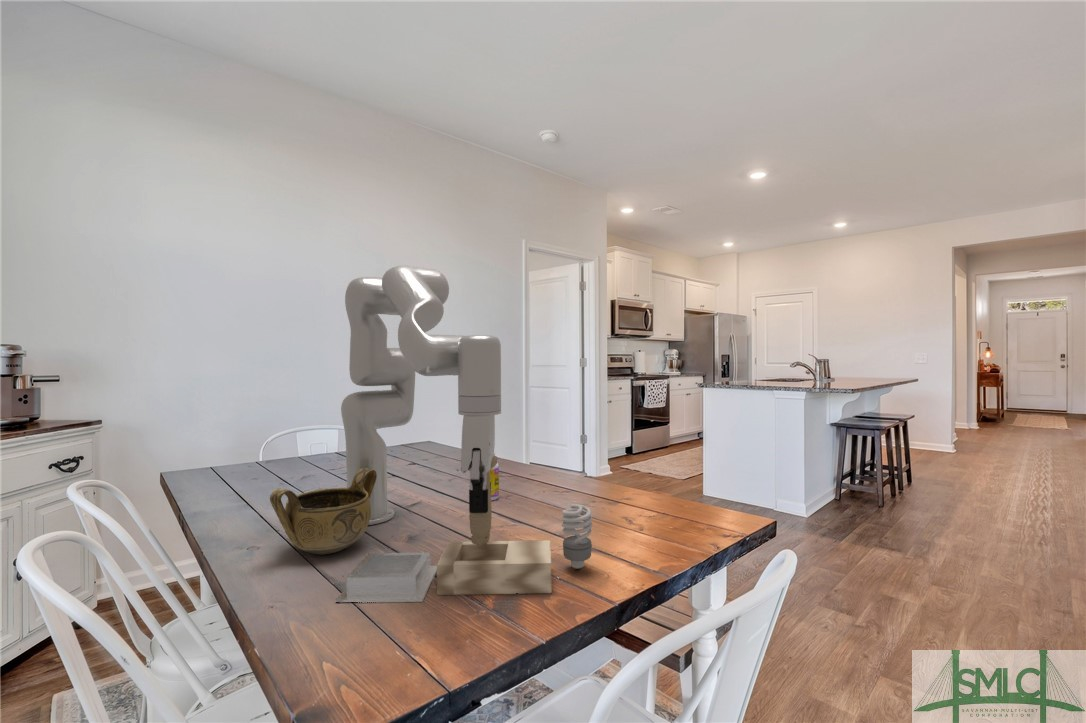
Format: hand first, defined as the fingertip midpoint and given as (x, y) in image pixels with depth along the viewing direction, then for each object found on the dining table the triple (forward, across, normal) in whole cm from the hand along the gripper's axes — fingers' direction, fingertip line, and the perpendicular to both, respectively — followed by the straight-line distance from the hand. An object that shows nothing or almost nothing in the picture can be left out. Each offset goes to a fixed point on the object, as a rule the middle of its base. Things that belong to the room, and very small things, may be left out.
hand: (480, 507), depth 89 cm
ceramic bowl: (+14, -16, -34) cm, 39 cm away
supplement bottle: (+14, -52, -4) cm, 54 cm away
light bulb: (+13, -4, +18) cm, 22 cm away
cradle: (+13, +2, -16) cm, 20 cm away
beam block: (+13, +1, +3) cm, 13 cm away
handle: (+6, 0, 0) cm, 6 cm away
